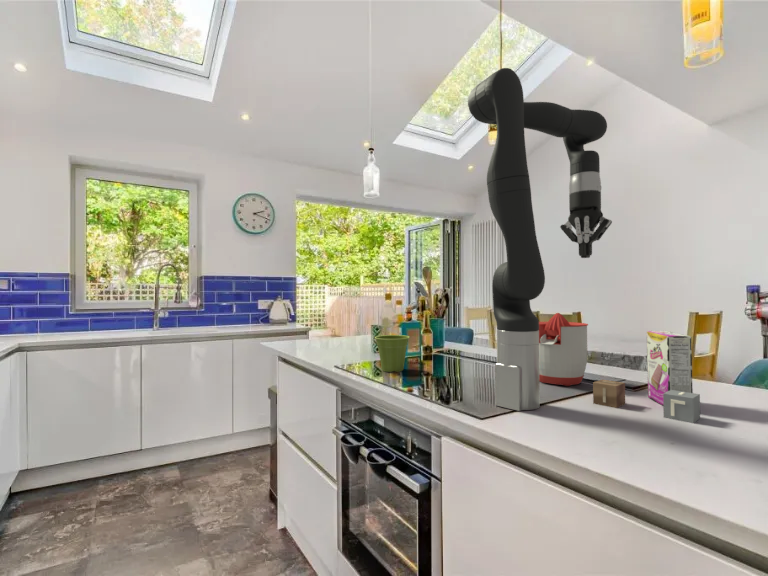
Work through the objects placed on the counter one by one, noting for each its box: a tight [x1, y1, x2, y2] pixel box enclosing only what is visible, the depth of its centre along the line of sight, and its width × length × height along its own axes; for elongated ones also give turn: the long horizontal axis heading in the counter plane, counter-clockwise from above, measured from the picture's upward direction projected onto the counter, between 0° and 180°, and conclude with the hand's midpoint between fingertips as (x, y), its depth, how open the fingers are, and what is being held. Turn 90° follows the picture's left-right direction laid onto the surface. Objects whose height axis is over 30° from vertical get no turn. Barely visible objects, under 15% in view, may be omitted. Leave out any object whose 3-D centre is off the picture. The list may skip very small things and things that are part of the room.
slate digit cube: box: [662, 390, 701, 424], centre depth 84 cm, size 5×5×5 cm
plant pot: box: [374, 334, 411, 373], centre depth 137 cm, size 12×12×11 cm
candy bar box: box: [646, 330, 694, 406], centre depth 94 cm, size 11×5×16 cm, turn 169°
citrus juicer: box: [539, 312, 589, 387], centre depth 118 cm, size 16×17×20 cm
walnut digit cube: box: [592, 379, 626, 409], centre depth 94 cm, size 5×5×5 cm
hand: (585, 257), depth 108 cm, fingers closed
